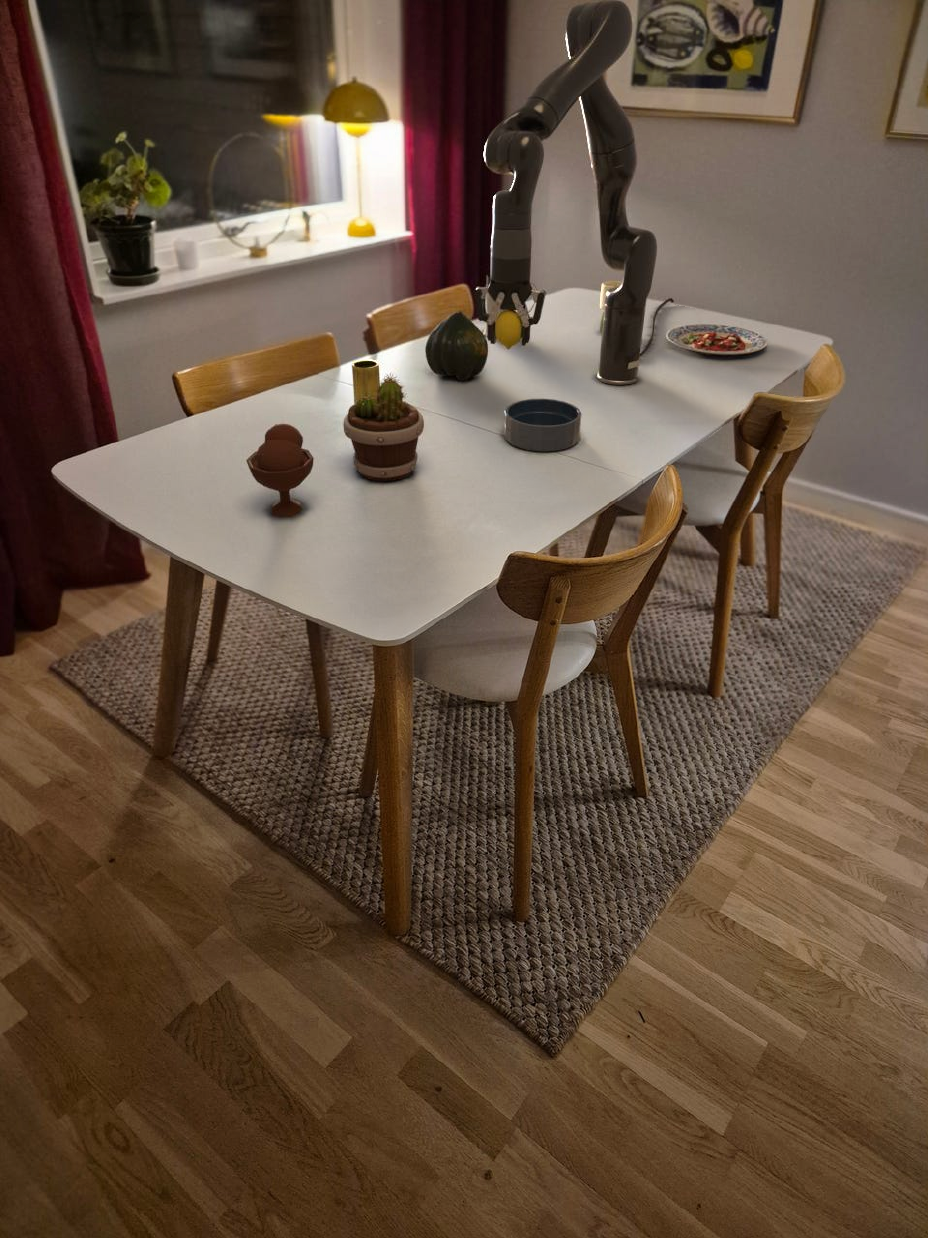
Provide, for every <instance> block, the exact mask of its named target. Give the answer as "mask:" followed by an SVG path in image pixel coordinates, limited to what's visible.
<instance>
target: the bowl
mask: <svg viewBox="0 0 928 1238" xmlns="http://www.w3.org/2000/svg"><path fill="white" fill-rule="evenodd" d="M503 420H504V421H503V423H504V424H503V436H504V439H505V440H506V441H507V442H508V443H509V444H511V445H513V446H515V447H516V448H519V449H522V450H526V451H531V452H538V453H539V452H543V453H544V452H545V453H546V452H547V453H549V452H557V451H562V450H566V449H568V448H571V447H574V445H576V444H577V443H578V442H579V440H580V436H581V424H582V411H581V410H580V408H579V407H577V406H576V405H575V404H572V403H569V402H567V401H564V400H558V399H555V398H554V399H552V398H529V399H522V400H518V401H515V402H512V403H511V404H509V405H507V406H506V408H505V409H504V419H503Z"/></svg>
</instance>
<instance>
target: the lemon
mask: <svg viewBox="0 0 928 1238" xmlns="http://www.w3.org/2000/svg"><path fill="white" fill-rule="evenodd" d="M522 327H523V323H522V321H521V318H520V316H519V315H518V312H517V310H510V309H507V310H504V311H503V312H501V313H500V314H499V316H498V317H497V320H496V324H495V335H496V341H497V342H498V343H499V344H500V345H501V346H503V347H504V348H505V349H506V350H511V349H512V348H513V347H514V346H516V345H518V344H519V343H520V342H521V341H522Z"/></svg>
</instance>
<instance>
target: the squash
mask: <svg viewBox="0 0 928 1238" xmlns="http://www.w3.org/2000/svg"><path fill="white" fill-rule="evenodd" d="M483 333H484V332H482V330H481V329H480V328H479V327H478V326H477V325H476V324H475V323H474V322H473V321H472V320H471V319H470V318H469V317H468V316H467V315H466V314H465V313H463V312H462V311H461V310H458V311H456V312H453V313H451V314H450V315H448V316H447V317H446V318H444V319H442V320H441V322H439V323H438V324H437V325H436V326H435V327H434V329H432V331H431V333H430V334H429V336H428V338H427V341H426V344H425V348H424V349H425V351H424V352H425V358H426V361H427V364H428V367H429V368H430V369H431V371H432V372H433V373H434V374H435V375H438V376H442V377H446V376H450V377H454V376H455V377H456V378H457V379H458V380H460V381H466V380H468V379H469V378H474V377H477V376H478V375H480V374H481V372H482V371H483V369H485V366H486V364H487V359H488V355H489V344H488V343H489V342H488V339H487V338H486V336H485V335H484V334H483Z"/></svg>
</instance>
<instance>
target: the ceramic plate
mask: <svg viewBox="0 0 928 1238" xmlns="http://www.w3.org/2000/svg"><path fill="white" fill-rule="evenodd" d="M666 339H667V340H668V341H669V342H670V343H672V344H673V345H675V346H677V347H680V348H682V349H685V350H688V351H691V352H694V353H698V354H702V355H707V356H718V357H720V356H721V357H723V356H724V357H725V356H728V357H729V356H737V355H744V354H745V355H746V354H751V353H756V352H759V351H761V350H764V349H765V348H766V347H767V345H768V344H769V343H768V339H767V338H766V337H765V336H764V335H762V334H760V333H758V332H757V331H754V330H750V329H747V328H743V327H739V326H735V325H734V326H733V325H726V324H717V323H716V324H715V323H714V324H713V323H697V324H696V323H695V324H686V325H680V326H677V327H674V328H671V329H669V331H667V333H666Z"/></svg>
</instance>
